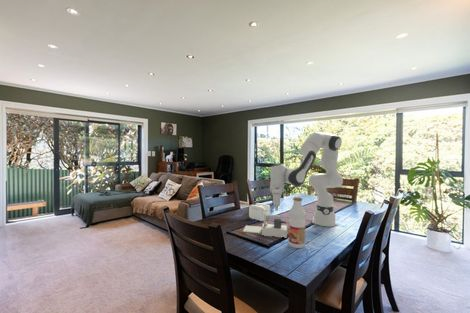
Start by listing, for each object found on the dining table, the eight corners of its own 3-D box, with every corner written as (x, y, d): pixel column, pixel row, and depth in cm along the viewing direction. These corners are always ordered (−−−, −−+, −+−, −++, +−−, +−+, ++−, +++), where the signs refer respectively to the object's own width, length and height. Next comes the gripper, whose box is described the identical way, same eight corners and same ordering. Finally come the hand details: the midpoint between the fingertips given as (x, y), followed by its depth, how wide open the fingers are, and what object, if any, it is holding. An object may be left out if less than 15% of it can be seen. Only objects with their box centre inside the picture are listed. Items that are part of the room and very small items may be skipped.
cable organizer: (270, 219, 181) (271, 205, 180) (263, 222, 173) (263, 207, 172) (256, 215, 191) (256, 202, 190) (248, 218, 183) (248, 204, 183)
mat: (245, 226, 163) (245, 225, 163) (262, 227, 160) (262, 226, 160) (242, 232, 151) (242, 231, 151) (260, 233, 149) (260, 232, 149)
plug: (274, 229, 151) (274, 218, 151) (285, 230, 149) (285, 219, 149) (273, 231, 146) (274, 220, 146) (285, 233, 145) (286, 221, 145)
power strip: (262, 230, 155) (263, 222, 155) (286, 232, 151) (286, 224, 151) (261, 235, 146) (261, 227, 146) (286, 237, 143) (287, 229, 142)
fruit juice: (306, 249, 127) (307, 200, 126) (289, 248, 127) (291, 199, 127) (302, 242, 136) (303, 196, 136) (287, 241, 137) (288, 196, 136)
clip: (263, 224, 151) (264, 214, 151) (280, 226, 149) (280, 215, 149) (263, 225, 149) (263, 215, 149) (280, 227, 147) (280, 216, 146)
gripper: (272, 186, 154) (272, 206, 154) (271, 190, 134) (271, 213, 134) (281, 186, 153) (281, 206, 153) (282, 191, 133) (281, 214, 133)
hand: (276, 210), depth 144 cm, fingers closed
